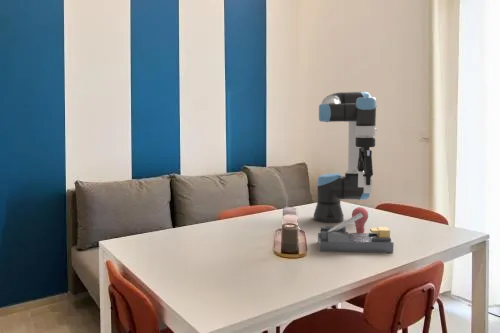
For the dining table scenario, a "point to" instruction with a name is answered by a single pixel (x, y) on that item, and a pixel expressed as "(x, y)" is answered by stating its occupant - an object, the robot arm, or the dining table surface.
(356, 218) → the light grey flat bar
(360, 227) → the light bulb
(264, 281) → the dining table surface
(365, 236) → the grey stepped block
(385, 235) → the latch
